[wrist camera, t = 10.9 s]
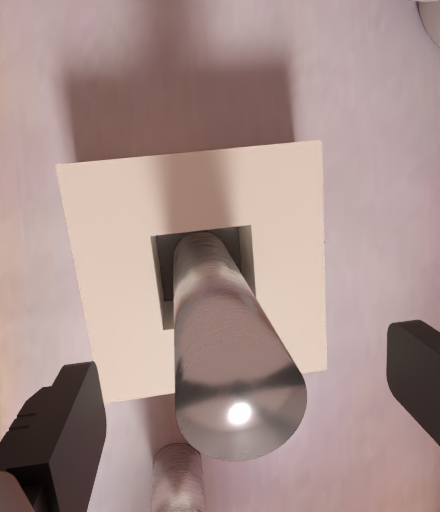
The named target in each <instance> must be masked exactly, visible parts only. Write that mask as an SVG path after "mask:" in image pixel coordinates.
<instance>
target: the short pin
mask: <svg viewBox="0 0 440 512" xmlns="http://www.w3.org/2000/svg"><path fill="white" fill-rule="evenodd" d="M151 512H207V511H206V501H205V492H204V482H203V472H202V462H201V456H200V454H199V452H198V451H197V450H196V449H195V448H194V447H192V446H190V445H188V444H184V443H175V444H171V445H168V446H166V447H164V448H163V449H161V450H160V451H159V452H158V454H157V455H156V457H155V459H154V465H153V483H152V501H151Z"/></svg>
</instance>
